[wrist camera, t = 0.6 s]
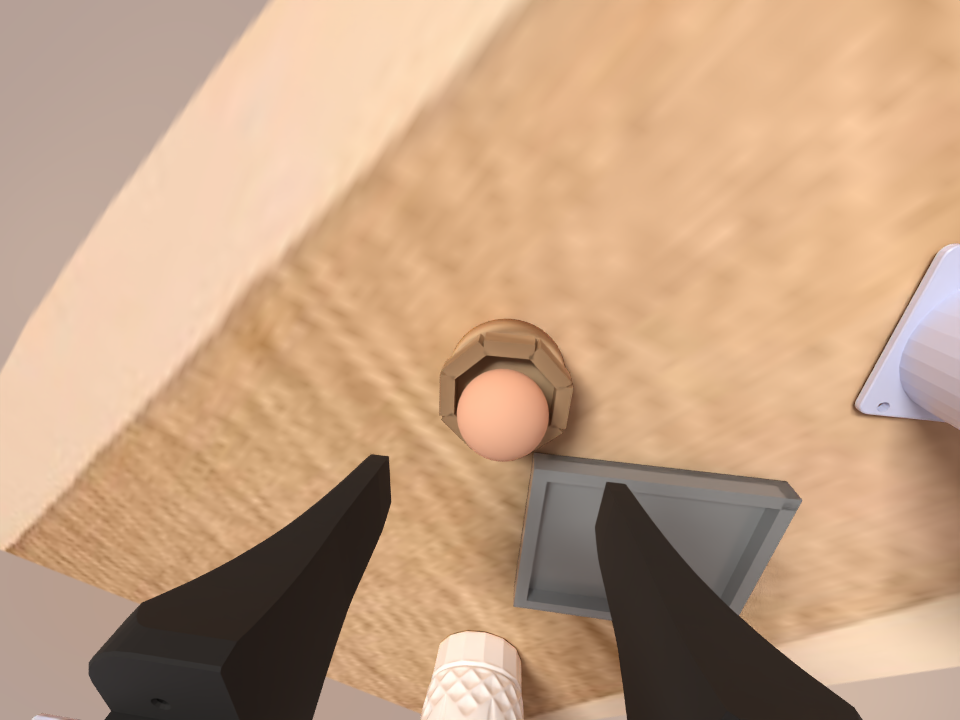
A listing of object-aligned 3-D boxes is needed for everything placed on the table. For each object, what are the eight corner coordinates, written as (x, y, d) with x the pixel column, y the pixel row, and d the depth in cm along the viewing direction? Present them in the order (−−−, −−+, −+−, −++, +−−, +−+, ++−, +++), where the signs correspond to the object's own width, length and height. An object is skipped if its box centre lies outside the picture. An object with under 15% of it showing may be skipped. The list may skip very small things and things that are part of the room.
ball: (552, 358, 18) (558, 404, 15) (541, 430, 20) (544, 487, 16) (465, 349, 18) (450, 393, 15) (462, 421, 20) (448, 475, 17)
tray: (786, 481, 22) (802, 500, 21) (717, 615, 27) (727, 637, 26) (533, 452, 23) (534, 468, 22) (514, 587, 28) (513, 606, 27)
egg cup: (573, 324, 19) (580, 349, 17) (555, 425, 22) (559, 461, 19) (452, 313, 20) (440, 335, 17) (449, 414, 22) (438, 447, 20)
